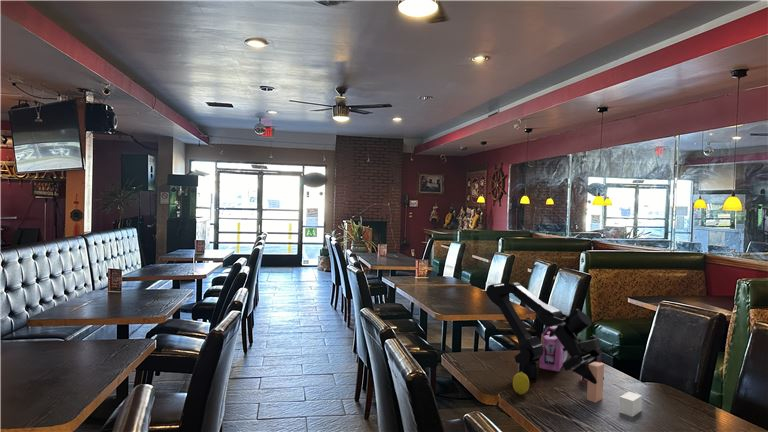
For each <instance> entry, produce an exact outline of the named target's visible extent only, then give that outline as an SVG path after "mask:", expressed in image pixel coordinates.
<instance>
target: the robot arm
mask: <svg viewBox="0 0 768 432" xmlns="http://www.w3.org/2000/svg"><path fill="white" fill-rule="evenodd" d="M485 294H486V296H487V298H488V300H490V301H491V302H492V303H493V305H495V306H497V307H498V308H499V310H500V312H501V313H502V315H503V317H504V318H505V320H506V322H507V323H508V325H509V327H510V329H511V330H512V332H513V334H514V336H515V337H516V338H515V339H517V345H518V350H519V353H517V354H516V355H515V356H514V362H515V363H516V364H517V373H520V372H523V373H524V374H526V375H527V377H528V379H529V382H537V381H538V380H537V379H538V371H539V370H538V369H539V368H538V366H537V362H540V357H542V355H543V352H544V350H543V347H542V346H543V345H542V344H541V340H540V338H539V337H538V336H537V335H535V336H533V335H531V334H530V333H529V331H528V329H527V328H526V326H525V325H524V323H523V321H522V320H521V318H520V315H518V313H517V310H516V309H515V308H514V305H513V304H512V302H511V300H510V299H511V298H510V296H511V295H510V294H512V296H514V297H515V298H517V299H518V300H520V302H521V303H523V304H524V305H526V306H527V307H528V308H529V309H530V310H532V311H533V312H534V313H535V314H536V317H537V319H538V320H539V321H540V322H541V324H543V325H544V326H545V327H547V328H548V327H552V326H556V325H559V326H558V327H556V328H555V329H550V334H549V337H553V336H556V337H557V338H558V340H559V341H560V342H561V344H562V345H563V347H564V348H563V351H567V352H568V353H567V354H568V355H569V358H567V359H566V360H565V362H564V363H563V366H562V369H564V371H565V372H569V371H571V372H572V373H575V374H577V375H579V376H580V375H581V376H582V377H584V378H586V379H587V380H589V381H590V382H592V383H593V384H596V383H597V381H596V379H595V377H594V376H593V374H592V372H591V371H590V369H589V367H588V364H591V363H593V362H599V358H600V356H602V354H603V353H604V352H603V350H602V349H601V348H602V345H601V343H602V340H601V339H600V337H598V336H597V335H592V336H590V337H589V340H583V338H578V336H576V335H579V334H581V333H583V332H584V331H586V329H588V328H589V327H591V326H592V324H593V323H592V322H593V321H592V320H591V318H590V316H589V315H588V314H586V313H584V311H581V310H580V308H575V310H573V311H572V312H571V313H570V314H569V315H568V314H565V313H563V311H561V310H560V309H558V308H556V307H554V306H553V305H549V304H547V303H545V302H543V301H542V300H541V299H539V298H538V297H537V296H535V295H534V294H533V293H532V292H531V291H529V290H528V289H526V288H525V287H524V286H522V284H521V283H519V282H517V281H516V282H515V281H514V282H510V283H507V284H504V283H501V282H500V283H494V284H493V283H492V284H489V285H488V286H487V287H486V291H485ZM562 324H563V325H562ZM572 368H573V369H572ZM604 380H605V377H604V376H603V381H604Z"/></svg>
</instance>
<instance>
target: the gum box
mask: <svg viewBox="0 0 768 432" xmlns="http://www.w3.org/2000/svg"><path fill="white" fill-rule="evenodd" d="M559 325H560V324H559ZM559 325H556V326H552V327H547V328H546V329H544V330H545V331H544V332H542V333H541V339H540V342H541V344H542V345H543V346H542V347H543V350H544V352H543V355H542V357H540V359H539V368H538V369H543V370H547V371H553V372H557V373H559V372H560V370H561V369H562V368H563V363H564V362H565V361H567V360H568V354H569V353H568V352H567V351H563V348H564V347H563V345H562V344H561V342H560V341H559V340H558V338H557V337H556V336H553V337H549V334H550V329H555V328H556V327H558V326H559Z"/></svg>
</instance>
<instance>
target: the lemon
mask: <svg viewBox="0 0 768 432" xmlns="http://www.w3.org/2000/svg"><path fill="white" fill-rule="evenodd" d="M512 387H513V390H514V391H515V392H516V393H517V394H519V396H522V395H524V394H526V393H527V392H528V391H529V389H530V381H529V379H528V377H527V375H526V374H524V373H523V372H520V373H518V372H516V374H515V375H514V376H513V378H512Z"/></svg>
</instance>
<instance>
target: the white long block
mask: <svg viewBox="0 0 768 432" xmlns="http://www.w3.org/2000/svg"><path fill="white" fill-rule="evenodd" d="M642 404H643V395H642V394H639V393H636V392H632V391H628V392H625V393H624V394H622V395H621V396H619V407H618V408H619V410H617V412H619V413H621V414H624V415H626V416H628V417H634V416H636V415H637V414H639V413H640V412H641V411H642V408H643V407H642Z"/></svg>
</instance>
